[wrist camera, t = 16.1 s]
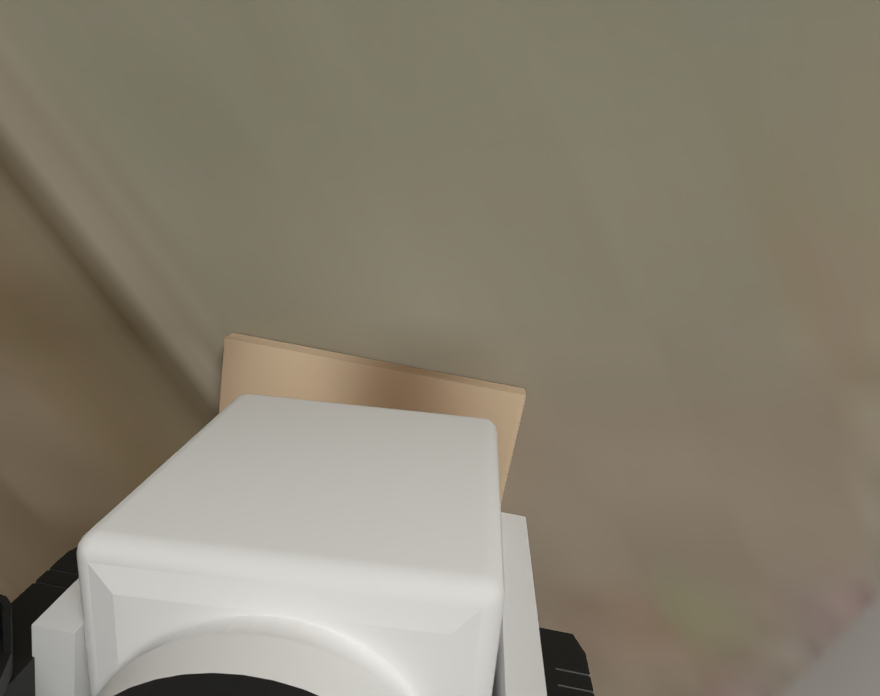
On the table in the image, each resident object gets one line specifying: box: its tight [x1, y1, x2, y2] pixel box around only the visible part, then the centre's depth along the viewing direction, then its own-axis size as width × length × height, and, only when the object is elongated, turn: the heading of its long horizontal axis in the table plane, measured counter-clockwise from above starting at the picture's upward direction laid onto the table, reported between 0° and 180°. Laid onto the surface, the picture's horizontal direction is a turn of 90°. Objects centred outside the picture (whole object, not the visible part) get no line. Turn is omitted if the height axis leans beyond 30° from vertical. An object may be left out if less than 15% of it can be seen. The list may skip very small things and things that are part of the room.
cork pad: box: [219, 333, 526, 503], centre depth 19 cm, size 9×9×1 cm
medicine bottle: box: [76, 394, 505, 696], centre depth 12 cm, size 7×7×12 cm
